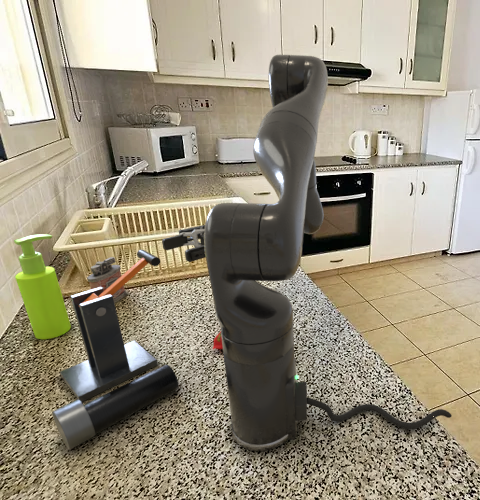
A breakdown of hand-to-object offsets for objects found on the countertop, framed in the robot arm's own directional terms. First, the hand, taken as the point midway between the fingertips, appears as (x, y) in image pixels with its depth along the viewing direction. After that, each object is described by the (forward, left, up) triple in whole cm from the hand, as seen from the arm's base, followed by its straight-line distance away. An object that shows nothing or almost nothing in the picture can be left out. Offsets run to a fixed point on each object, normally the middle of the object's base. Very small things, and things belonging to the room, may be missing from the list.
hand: (174, 250), depth 69 cm
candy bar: (-10, -1, -19) cm, 21 cm away
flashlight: (+3, +20, -19) cm, 27 cm away
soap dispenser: (+27, -4, -19) cm, 33 cm away
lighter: (+22, -16, -19) cm, 33 cm away
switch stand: (+10, +10, -19) cm, 23 cm away
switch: (+6, +6, -4) cm, 10 cm away
